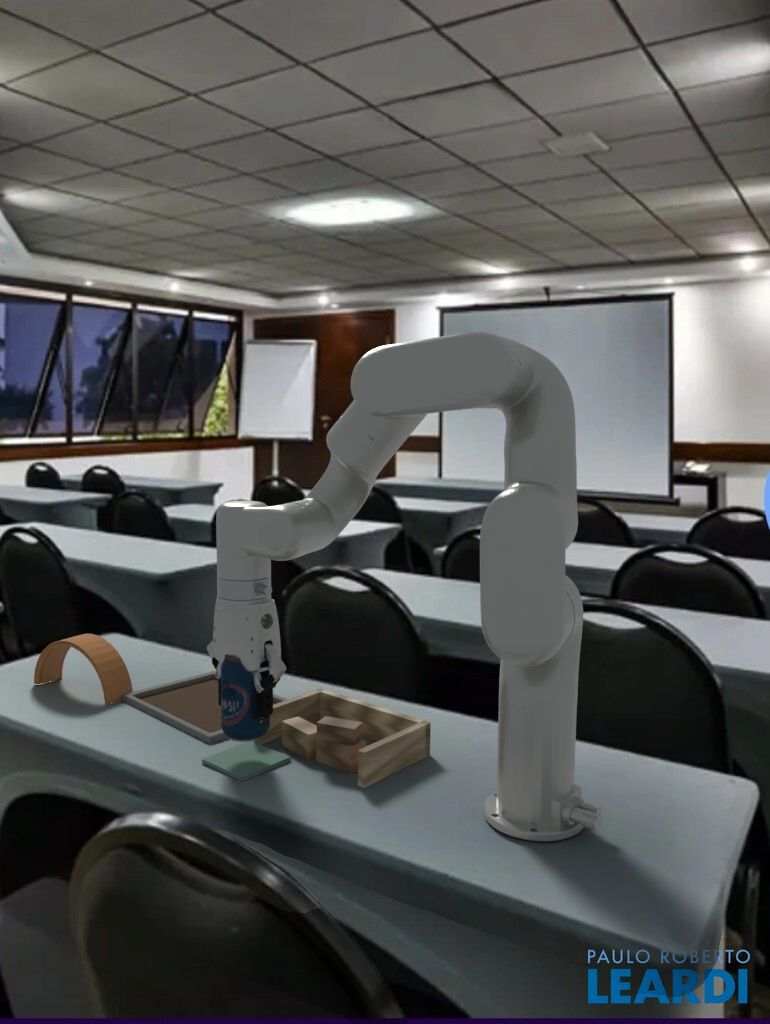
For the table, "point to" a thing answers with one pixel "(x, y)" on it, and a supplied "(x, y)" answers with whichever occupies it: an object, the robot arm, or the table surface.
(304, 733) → the offcut
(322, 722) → the offcut top
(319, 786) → the table surface
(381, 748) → the enclosure
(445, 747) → the table surface
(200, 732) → the framed cork board
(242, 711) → the soda can
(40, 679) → the arch
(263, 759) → the mat
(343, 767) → the offcut
